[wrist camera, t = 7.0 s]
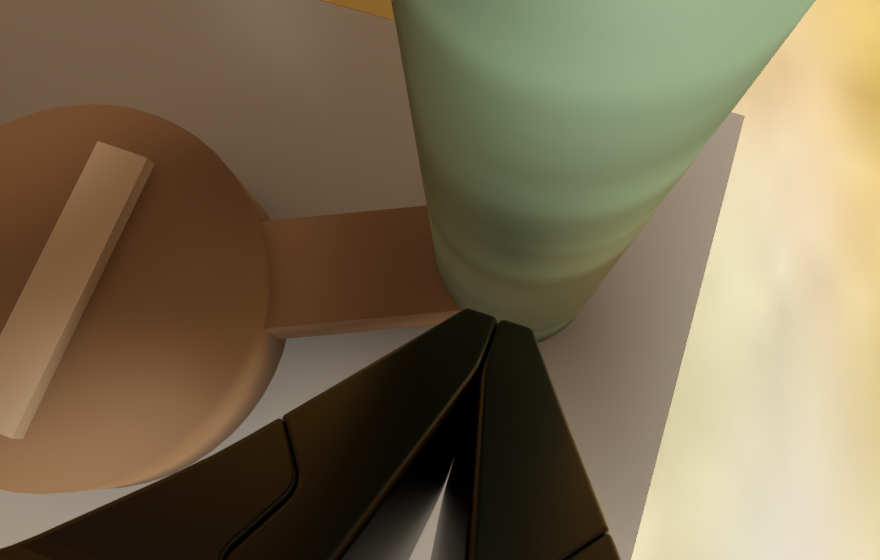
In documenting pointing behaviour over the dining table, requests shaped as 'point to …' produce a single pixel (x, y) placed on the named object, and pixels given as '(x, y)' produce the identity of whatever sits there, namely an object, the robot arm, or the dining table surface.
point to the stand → (359, 204)
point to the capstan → (341, 223)
